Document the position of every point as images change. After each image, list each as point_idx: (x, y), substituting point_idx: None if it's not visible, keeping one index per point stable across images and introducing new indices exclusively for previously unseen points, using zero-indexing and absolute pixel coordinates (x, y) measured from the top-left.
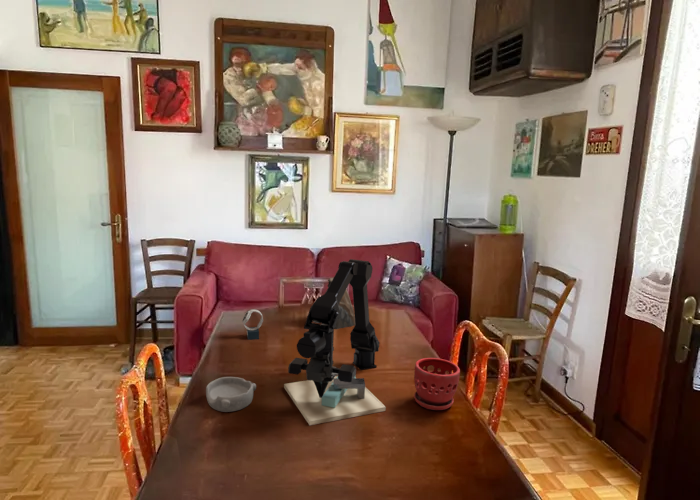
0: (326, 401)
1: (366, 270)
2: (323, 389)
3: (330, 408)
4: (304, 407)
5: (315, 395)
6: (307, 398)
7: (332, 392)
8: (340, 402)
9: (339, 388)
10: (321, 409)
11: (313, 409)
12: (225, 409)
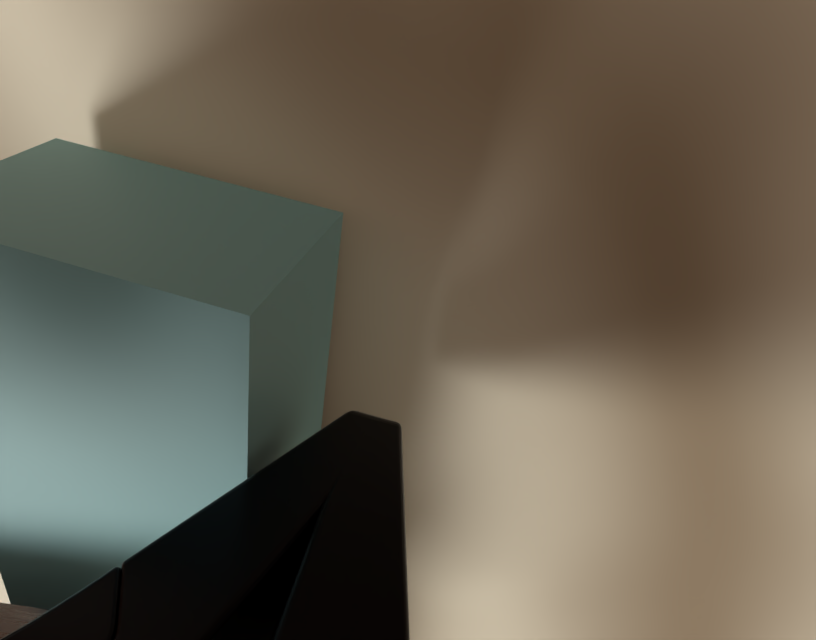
0: (175, 228)
1: None
2: (164, 558)
3: (156, 131)
4: (785, 102)
5: (540, 570)
6: (693, 495)
7: (101, 512)
8: None
9: (3, 607)
10: (321, 57)
11: (518, 28)
12: None
